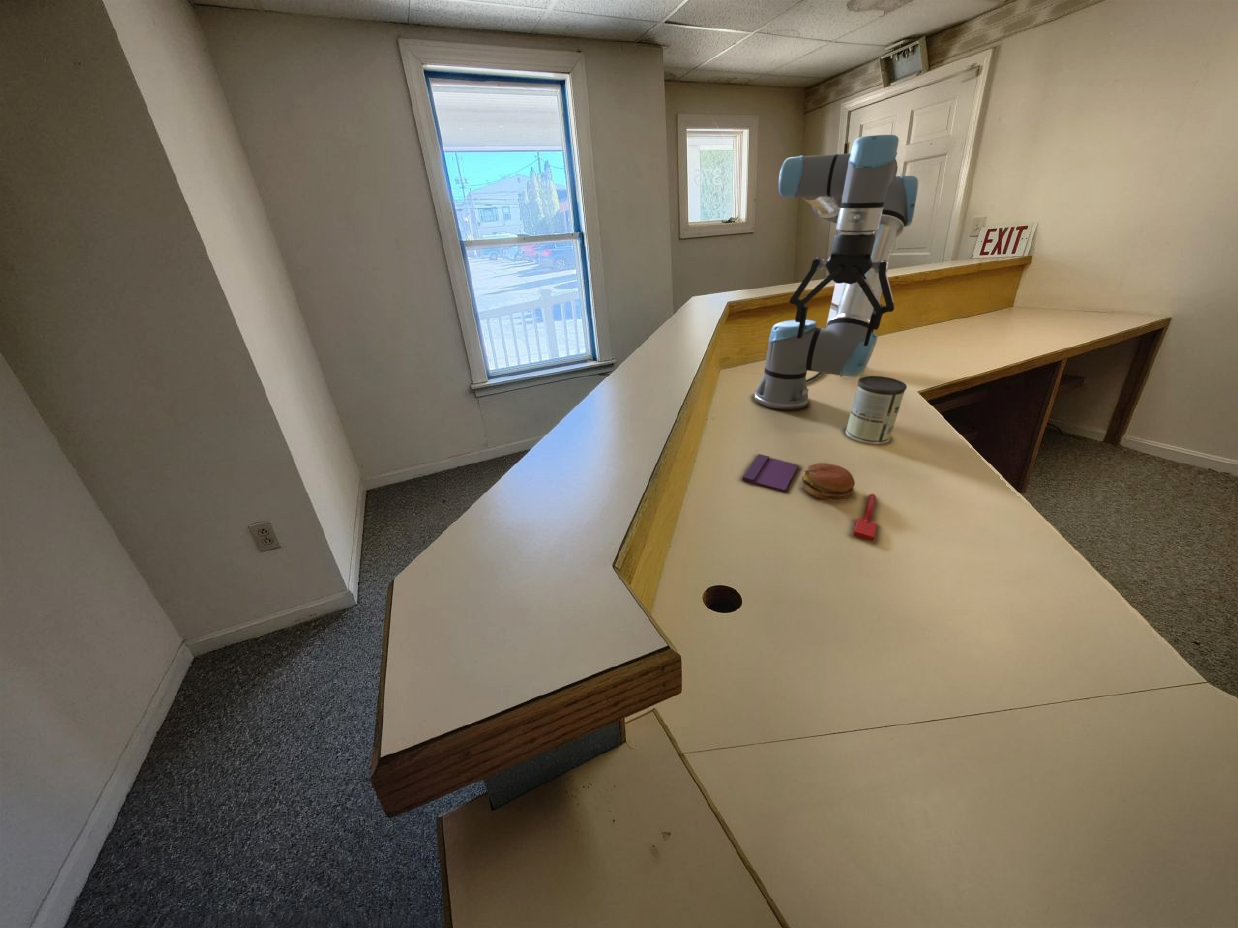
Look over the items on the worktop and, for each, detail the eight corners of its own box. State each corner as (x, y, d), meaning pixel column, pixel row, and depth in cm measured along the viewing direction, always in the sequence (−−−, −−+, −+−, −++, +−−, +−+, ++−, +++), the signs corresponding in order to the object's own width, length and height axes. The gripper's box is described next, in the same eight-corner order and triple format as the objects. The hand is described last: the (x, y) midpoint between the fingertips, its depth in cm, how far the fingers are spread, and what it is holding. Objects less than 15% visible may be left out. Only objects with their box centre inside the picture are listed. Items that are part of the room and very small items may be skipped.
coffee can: (845, 424, 121) (858, 373, 114) (888, 431, 117) (905, 378, 110) (844, 440, 113) (858, 386, 106) (890, 447, 109) (908, 392, 102)
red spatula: (863, 495, 92) (864, 490, 91) (880, 499, 90) (882, 494, 90) (853, 535, 80) (854, 530, 80) (873, 541, 79) (874, 536, 78)
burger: (862, 497, 91) (868, 477, 89) (824, 506, 88) (829, 486, 86) (827, 474, 99) (831, 455, 97) (791, 481, 96) (795, 462, 94)
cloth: (758, 456, 106) (758, 453, 106) (798, 466, 102) (798, 463, 102) (742, 480, 97) (742, 477, 97) (784, 491, 93) (785, 488, 93)
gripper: (785, 233, 91) (770, 338, 102) (930, 235, 80) (895, 352, 91) (794, 230, 97) (778, 330, 108) (930, 232, 86) (897, 343, 97)
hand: (831, 340), depth 100 cm, fingers open, 13 cm apart
